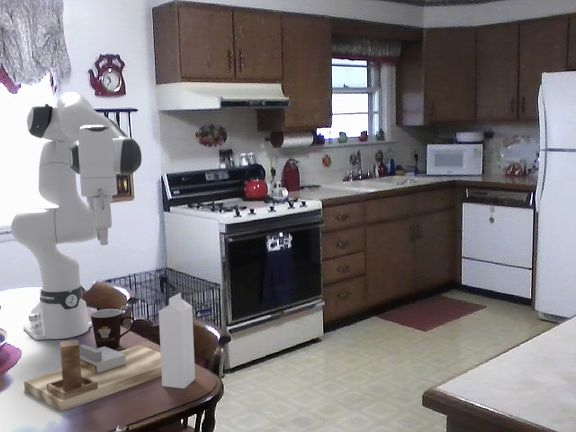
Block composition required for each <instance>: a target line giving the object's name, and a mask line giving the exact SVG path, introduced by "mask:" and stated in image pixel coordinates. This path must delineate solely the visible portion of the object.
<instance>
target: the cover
mask: <svg viewBox="0 0 576 432" xmlns="http://www.w3.org/2000/svg"><path fill="white" fill-rule="evenodd" d="M79 349H80V359H82V360H84V361H86V362H88V363H91V364H93V365H95V366H96V367H97V373H100V372H103V371H106V370H109V369H112V368H115V367H118V366H121V365H124V364H126V355H125V354H123V353H120V352H119V351H118V350H116V349H110V348H108V347H105V346H104V347H101V348H97V347H96V348H94V347H92V346H89V345H86V344H79Z"/></svg>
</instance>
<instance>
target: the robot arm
mask: <svg viewBox="0 0 576 432" xmlns="http://www.w3.org/2000/svg"><path fill="white" fill-rule="evenodd" d="M26 118H27V119H26V125H27V128H28V129H27V130H28V132H29V134H30V135H31V136H33V137H35V138H38V139H46V140H48V141H46V142H45V143H44V145H43V146H42V149H41V152H40V157H39V163H38V164H39V168H38V192H39V195H40V196H41V197H42V198H43V199H44V200H46V201H47V202H49V203H51V204H53V205H56V206H58V207H49V208H48V207H47V208H32V209H28V210H23V211H20V212H17V213H16V215H14V217H13V219H12V221H11V225H10V228H11V234H12V236H13V238H14V239H15V241H16V242H17V243H19V244H20V245H22V246H23V247H25V248H26V249H28V250H29V252H31V254H32V255H33V256H34V258H35V259H36V262H37V263H38V266H39V271H40V278H41V287H42V288H41V289H39V291H40V292H39V302H38V303H36V305H35V306H34V307H33V308H32V309H31V312H30V314H29V315H28V321H29V323H27V324H25V325H24V326H23V330H24V331H25V332H26V333H28V335H30V337H32V338H33V339H34V341H35V340H36V341H39V340H62V339H68V338H74V337H78V336H80V335H83V334H85V333H87V332H88V331H90V330H89V329H90V328H91V327H93V326H92V321H89V314H88V307H87V302H86V301H85V300H84V299H82V298H83V288H82V285H81V280H80V279H81V278H80V277H81V276H80V264H79V262H78V260H77V259H75V257H73V256H71V255H69V254H66V253H64V252H62V251H60V250H59V249H58V247H57V245H59V244H60V245H61V244H77V243H78V244H80V243H84V242H89V241H92V240H95V239H97V240H98V241H99V243H100V245H101V246H107V245H109V237H108V236H109V229H110V228H112V224H113V220H112V209H111V203H112V202H113V201H114V199H113V196H116V195H117V196H118V185H117V184H118V183H117V175H128V176H132V175H133V174H134V173H135V172H136V171H137V170H138V169H139V168H140V167H141V165H142V159H143V158H142V150H141V147H140V144H139V143H138V142H137V141H136V140H135V139H134V138H132V137H131V136H129V135H127V134H126V133H125V131H123V129H122V128H121V127H120V126H119V125H118V124H117V123H116V122H115V121H114V120H112V119H111V118H110V117H107V116H105V115H103V114H100V112H97V111H96V110H95V109H94V107H93V106H92V104H91V103H90V101H88V100H87V99H86V97H84V96H83V95H82V94H80V93H77V92H65V93H64V94H63V95H61V96H60V97H59V99H58V100H57V103H56V105H53V104H50V103H49V102H46V103H39V104H35V105H34V106H33V107H31V109H30V110H29V112H28V114H27V117H26ZM77 174H78V175H79V177H80V178H79V179H80V195H81V196H80V195H79V193H78V188H77V187H78V186H77V176H76V175H77ZM81 197H83V198H84V197H86V203H87V204H86V203H85V202H84V201H83V200H82V198H81Z"/></svg>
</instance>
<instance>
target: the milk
mask: <svg viewBox="0 0 576 432" xmlns="http://www.w3.org/2000/svg"><path fill="white" fill-rule="evenodd" d="M193 318H194V316H193V305H191V303H188V302H187V301H185V300H184V299H182V293H181V292H179V293H177V294H175V295H173V296H171V297H170V298H169V299H168V305H166V306H164V307H162V309H160V310H158V320H159V321H158V323H159V325H158V327H159V342H160V343H159V344H160V345H159V346H160V353H161V369H162V376H161V385H162V387H164V388H165V387H167V388H175V389H183V390H184V389H186V388H187V387H188V386H189V385H190V384H191V383H193V382H194V381H195V380H196V368H195V366H196V365H195V347H194V345H195V344H194V324H193V323H194V322H193Z"/></svg>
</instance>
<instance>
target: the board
mask: <svg viewBox="0 0 576 432" xmlns="http://www.w3.org/2000/svg"><path fill="white" fill-rule="evenodd" d="M118 352H120V353H123V354H125V355H126V364H124V365H121V366H118V367H115V368H112V369H109V370H106V371H103V372H100V373H97V367H96V366H95V365H93V364H91V363H88V362H86V361H84V360H82V359H80V365H81V380H82V387H79V388H76V389H73V390H70V391H67V392H65V391H63V379H62V368H61V369H56V370H55V371H52V372H48V373H45V374H42V375H37V376H35V377H32V378H28V379H26V380H23V387H24V388H23V389H24V392H26V393H28V394H29V395H31V396H34V397H35V398H37V399H38V400H40V401H42V402H43V403H45V404H46V405H49V406H51V407H53V408H54V409H56V410H58V411H59V412H60V413H61V412H62V413H63V412H65V411H68V410H71V409H74V408H76V407H79V406H82V405H85V404H88V403H90V402H93V401H96V400H99V399H102V398H105V397H106V396H109V395H112V394H115V393H117V392H121V391H124V390H126V389H129V388H132V387H135V386H138V385H140V384H143V383H146V382H149V381H152V380H155V379H156V378H160V377H162V369H161V351H157V350H155V349H151V348H149V347H146V346H143V345H142V344H141V345H140V344H139V345H135V346H132V347H129V348H126V349H123V350H120V351H118Z"/></svg>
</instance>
